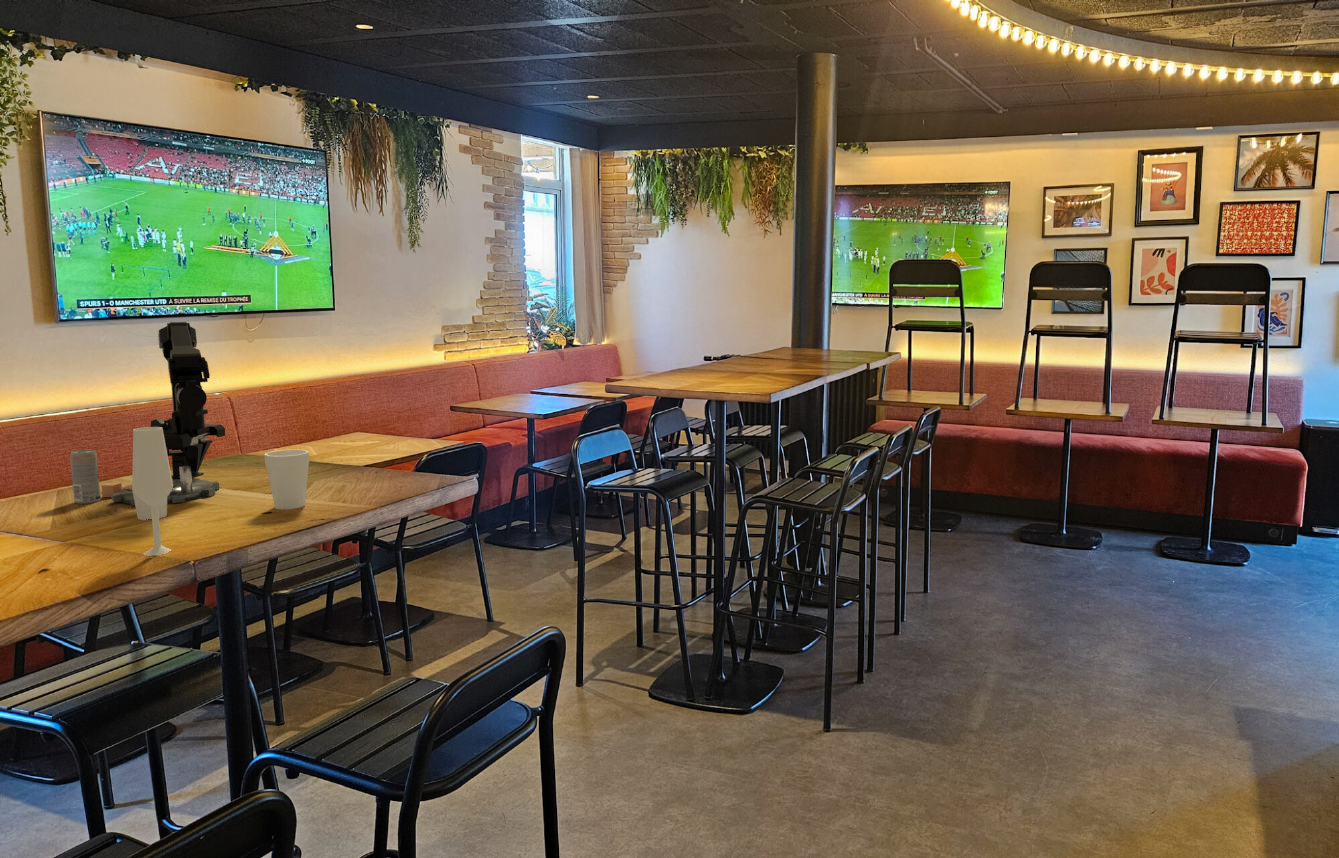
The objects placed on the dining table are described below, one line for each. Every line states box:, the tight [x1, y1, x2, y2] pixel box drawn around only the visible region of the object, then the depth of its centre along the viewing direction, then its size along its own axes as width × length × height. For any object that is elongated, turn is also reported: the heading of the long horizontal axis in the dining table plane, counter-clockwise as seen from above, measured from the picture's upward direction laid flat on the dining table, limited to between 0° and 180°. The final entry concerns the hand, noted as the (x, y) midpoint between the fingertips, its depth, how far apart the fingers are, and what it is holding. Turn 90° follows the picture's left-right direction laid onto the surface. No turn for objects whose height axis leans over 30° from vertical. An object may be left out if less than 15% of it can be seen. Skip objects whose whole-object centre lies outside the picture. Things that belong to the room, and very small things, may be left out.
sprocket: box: [111, 466, 220, 506], centre depth 232 cm, size 23×23×8 cm
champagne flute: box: [131, 426, 173, 556], centre depth 179 cm, size 7×7×24 cm
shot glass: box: [132, 490, 168, 521], centre depth 211 cm, size 7×7×7 cm
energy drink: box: [69, 449, 102, 505], centre depth 228 cm, size 5×5×12 cm
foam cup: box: [264, 448, 310, 510], centre depth 218 cm, size 10×9×13 cm
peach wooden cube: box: [100, 482, 123, 498], centre depth 234 cm, size 3×3×3 cm
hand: (195, 471), depth 229 cm, fingers closed
